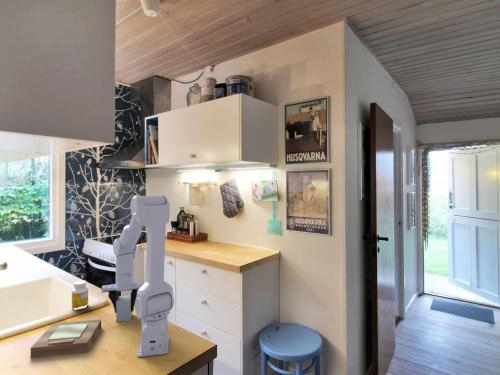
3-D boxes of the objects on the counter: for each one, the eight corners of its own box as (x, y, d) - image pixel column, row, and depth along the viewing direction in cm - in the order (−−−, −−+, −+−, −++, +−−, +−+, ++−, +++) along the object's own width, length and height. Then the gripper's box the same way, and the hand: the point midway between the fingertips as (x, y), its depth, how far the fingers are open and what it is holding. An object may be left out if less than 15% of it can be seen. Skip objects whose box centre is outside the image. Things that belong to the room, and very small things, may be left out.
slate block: (130, 320, 102) (130, 300, 101) (116, 321, 101) (116, 301, 100) (132, 314, 106) (132, 295, 106) (119, 315, 105) (119, 296, 105)
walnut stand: (87, 352, 82) (87, 340, 82) (30, 358, 79) (30, 346, 79) (101, 327, 96) (101, 318, 96) (53, 332, 93) (53, 322, 93)
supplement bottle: (68, 308, 110) (68, 283, 110) (82, 303, 115) (82, 279, 115) (77, 312, 107) (77, 285, 107) (91, 306, 112) (91, 281, 112)
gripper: (147, 268, 108) (147, 304, 109) (105, 270, 105) (105, 307, 106) (145, 274, 102) (145, 313, 102) (99, 276, 98) (99, 316, 99)
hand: (124, 311), depth 103 cm, fingers closed on slate block, 4 cm apart
